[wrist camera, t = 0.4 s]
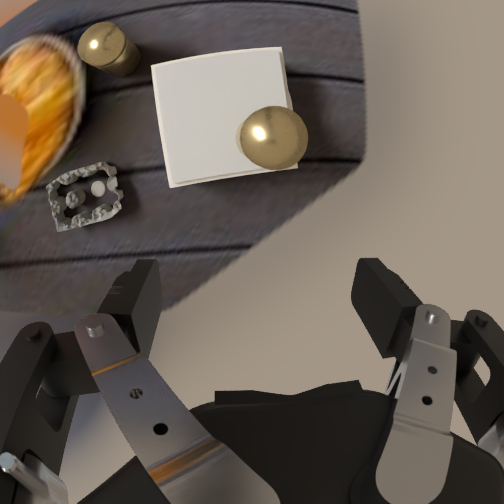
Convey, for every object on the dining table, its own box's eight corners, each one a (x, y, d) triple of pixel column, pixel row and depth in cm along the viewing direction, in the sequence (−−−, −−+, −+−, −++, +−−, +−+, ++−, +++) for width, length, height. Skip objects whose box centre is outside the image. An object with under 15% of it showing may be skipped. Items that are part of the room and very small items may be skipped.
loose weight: (103, 49, 29) (76, 31, 21) (139, 38, 29) (119, 15, 21) (106, 81, 31) (78, 69, 23) (142, 71, 31) (121, 54, 23)
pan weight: (231, 117, 28) (237, 109, 20) (280, 111, 29) (304, 102, 20) (238, 164, 30) (246, 175, 22) (286, 158, 31) (311, 167, 22)
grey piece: (116, 156, 35) (106, 158, 31) (129, 209, 38) (120, 217, 34) (53, 177, 35) (39, 182, 31) (66, 226, 38) (53, 235, 34)
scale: (161, 76, 32) (149, 64, 25) (275, 60, 32) (287, 45, 26) (177, 179, 37) (169, 189, 30) (289, 162, 38) (304, 168, 31)
